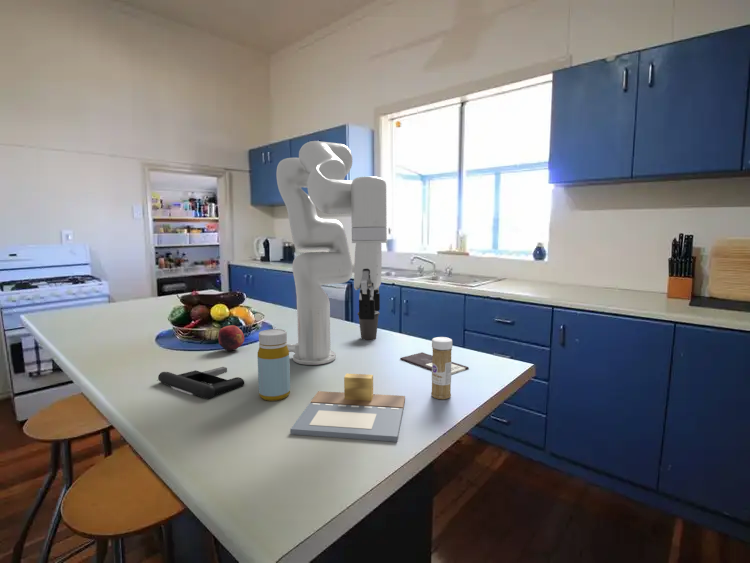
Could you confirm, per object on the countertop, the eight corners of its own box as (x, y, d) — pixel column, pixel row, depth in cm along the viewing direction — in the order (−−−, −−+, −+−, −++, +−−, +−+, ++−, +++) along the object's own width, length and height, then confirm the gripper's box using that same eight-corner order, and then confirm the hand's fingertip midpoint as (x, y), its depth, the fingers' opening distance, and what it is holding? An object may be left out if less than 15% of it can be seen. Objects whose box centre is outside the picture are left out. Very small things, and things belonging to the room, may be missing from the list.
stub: (310, 405, 89) (309, 379, 88) (318, 394, 95) (317, 370, 94) (402, 411, 86) (403, 384, 85) (405, 399, 92) (405, 374, 91)
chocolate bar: (422, 352, 127) (468, 367, 113) (422, 355, 127) (468, 370, 113) (400, 357, 121) (446, 374, 107) (400, 360, 121) (446, 377, 107)
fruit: (248, 347, 135) (247, 323, 134) (238, 354, 127) (237, 329, 126) (225, 346, 136) (224, 323, 135) (214, 353, 128) (212, 328, 127)
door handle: (209, 360, 115) (152, 373, 102) (258, 373, 104) (202, 390, 91) (209, 371, 115) (152, 386, 102) (258, 386, 105) (202, 404, 91)
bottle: (274, 404, 90) (272, 337, 88) (252, 397, 94) (250, 333, 92) (296, 393, 96) (294, 330, 94) (275, 387, 100) (273, 327, 98)
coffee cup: (362, 342, 141) (362, 313, 139) (353, 336, 148) (353, 309, 147) (383, 339, 144) (383, 311, 143) (374, 334, 151) (374, 307, 150)
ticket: (290, 434, 77) (290, 428, 76) (310, 407, 88) (309, 402, 88) (397, 441, 74) (397, 436, 74) (402, 412, 85) (402, 407, 85)
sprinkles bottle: (427, 396, 94) (427, 338, 93) (439, 390, 97) (440, 335, 96) (443, 401, 91) (444, 342, 89) (455, 396, 94) (456, 338, 92)
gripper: (358, 236, 97) (359, 307, 99) (344, 236, 80) (345, 322, 82) (390, 236, 96) (390, 308, 98) (382, 236, 79) (383, 323, 81)
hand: (370, 314), depth 90 cm, fingers open, 9 cm apart
